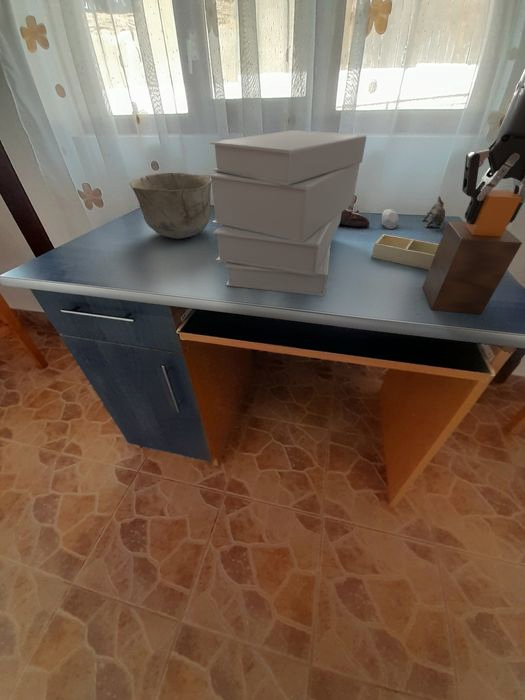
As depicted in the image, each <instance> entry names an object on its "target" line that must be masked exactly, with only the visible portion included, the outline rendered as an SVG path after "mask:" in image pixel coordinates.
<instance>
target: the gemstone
mask: <svg viewBox="0 0 525 700" xmlns="http://www.w3.org/2000/svg"><path fill="white" fill-rule="evenodd" d="M399 219H400V217H399V215H398V213H397V212H396V211H395V210H394V209H393V208H387V209H385V210H384V211H383V212H382V213H381V225H383V226H384V227H385V228H387V229H390V230H393V229H395V228H396V227H397V226H398V225H399V221H400V220H399Z"/></svg>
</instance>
